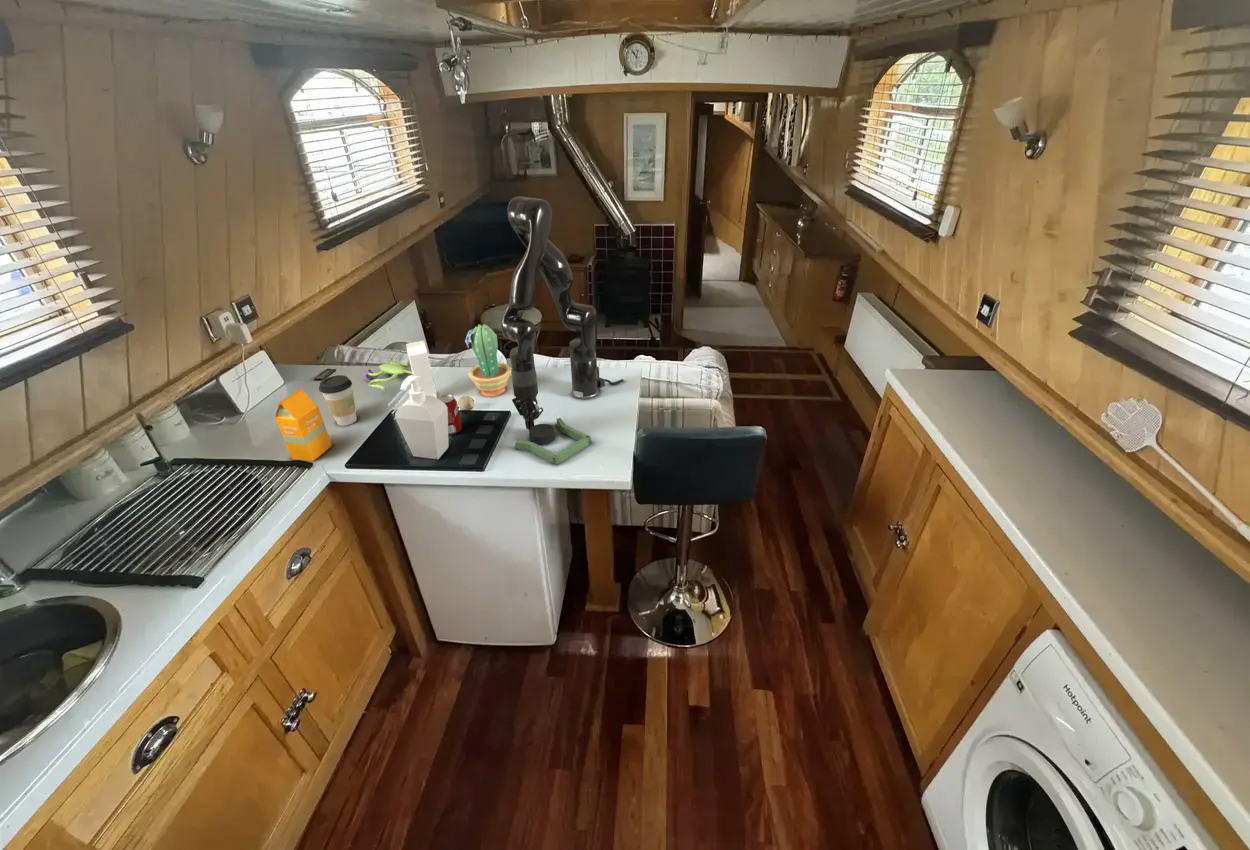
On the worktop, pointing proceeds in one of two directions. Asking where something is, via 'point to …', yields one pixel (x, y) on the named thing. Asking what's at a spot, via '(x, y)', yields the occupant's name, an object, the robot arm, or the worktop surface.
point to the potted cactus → (487, 362)
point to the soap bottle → (423, 421)
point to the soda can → (452, 413)
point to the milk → (421, 366)
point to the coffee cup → (339, 398)
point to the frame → (562, 455)
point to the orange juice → (302, 427)
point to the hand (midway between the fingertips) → (530, 428)
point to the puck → (542, 434)
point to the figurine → (386, 368)
